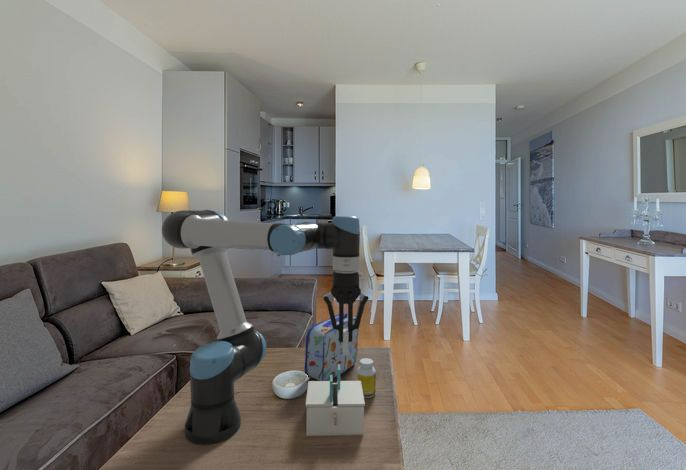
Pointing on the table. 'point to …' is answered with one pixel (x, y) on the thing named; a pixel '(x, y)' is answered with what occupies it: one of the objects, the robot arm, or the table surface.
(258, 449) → the table surface
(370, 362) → the pill bottle
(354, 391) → the far flap
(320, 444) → the table surface
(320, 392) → the flap
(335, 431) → the carton
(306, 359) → the lunch box
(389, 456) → the table surface
